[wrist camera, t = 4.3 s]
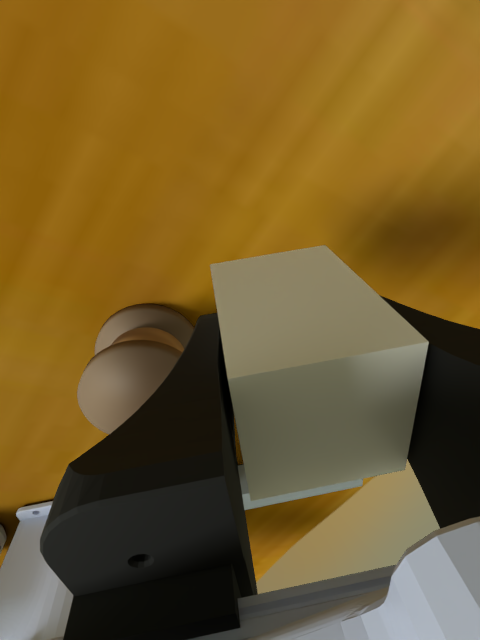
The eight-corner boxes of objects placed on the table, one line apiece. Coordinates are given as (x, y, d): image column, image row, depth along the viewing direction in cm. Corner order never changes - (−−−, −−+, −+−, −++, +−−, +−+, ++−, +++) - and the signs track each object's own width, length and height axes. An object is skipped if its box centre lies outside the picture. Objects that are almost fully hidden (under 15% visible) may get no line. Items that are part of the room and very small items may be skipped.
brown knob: (116, 393, 23) (101, 450, 19) (82, 314, 20) (57, 362, 16) (207, 376, 23) (211, 428, 19) (188, 295, 20) (188, 338, 16)
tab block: (227, 358, 14) (250, 501, 9) (209, 264, 12) (227, 378, 7) (325, 340, 14) (404, 469, 9) (325, 245, 12) (428, 341, 7)
